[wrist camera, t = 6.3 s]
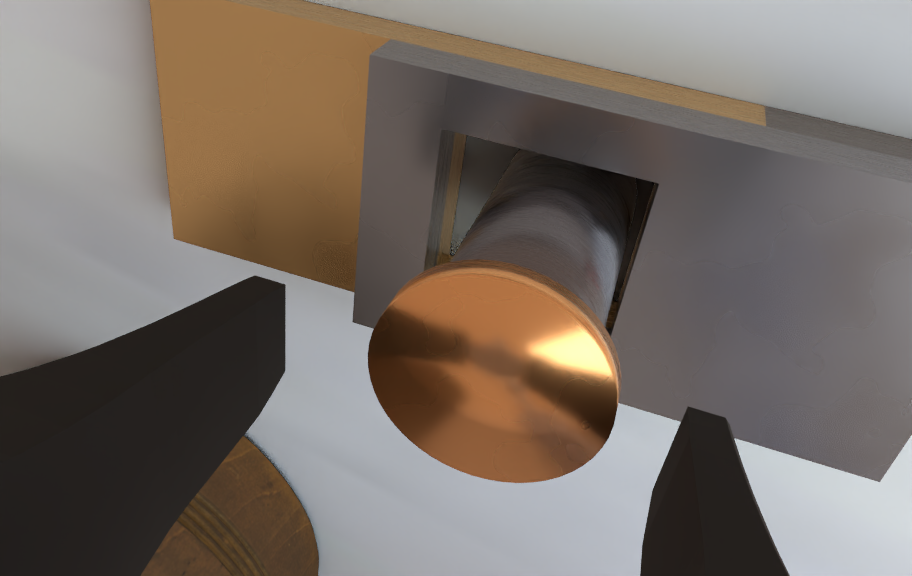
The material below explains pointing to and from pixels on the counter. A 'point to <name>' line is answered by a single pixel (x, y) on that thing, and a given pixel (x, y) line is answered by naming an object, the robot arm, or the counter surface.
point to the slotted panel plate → (577, 140)
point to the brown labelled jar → (240, 525)
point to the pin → (514, 328)
